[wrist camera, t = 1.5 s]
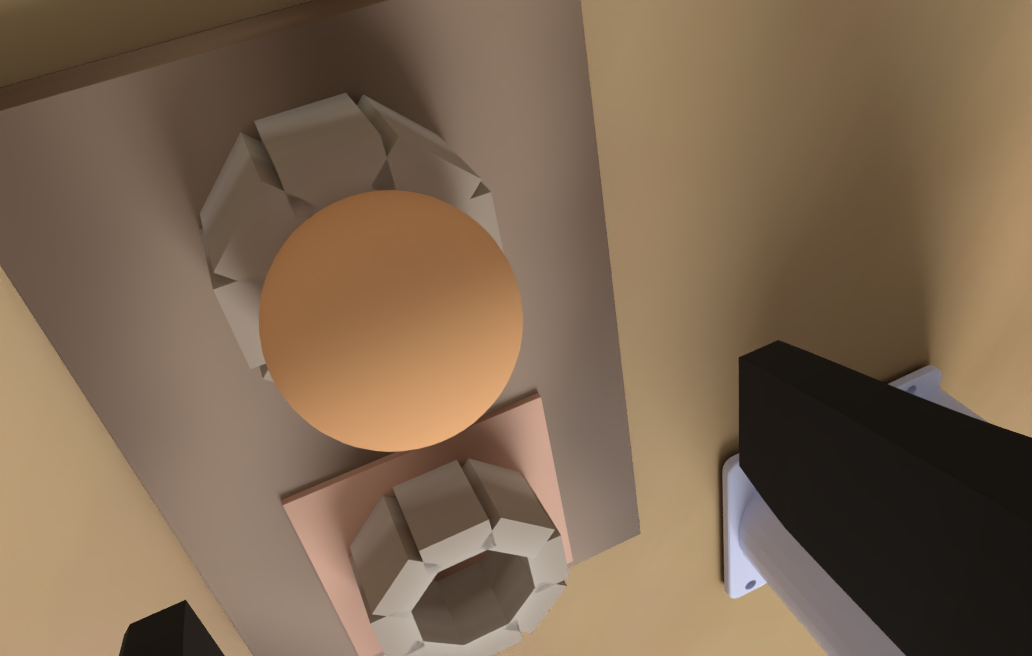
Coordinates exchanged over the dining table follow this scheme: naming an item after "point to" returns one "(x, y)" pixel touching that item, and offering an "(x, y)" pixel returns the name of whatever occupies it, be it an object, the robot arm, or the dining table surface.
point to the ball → (390, 320)
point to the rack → (237, 293)
